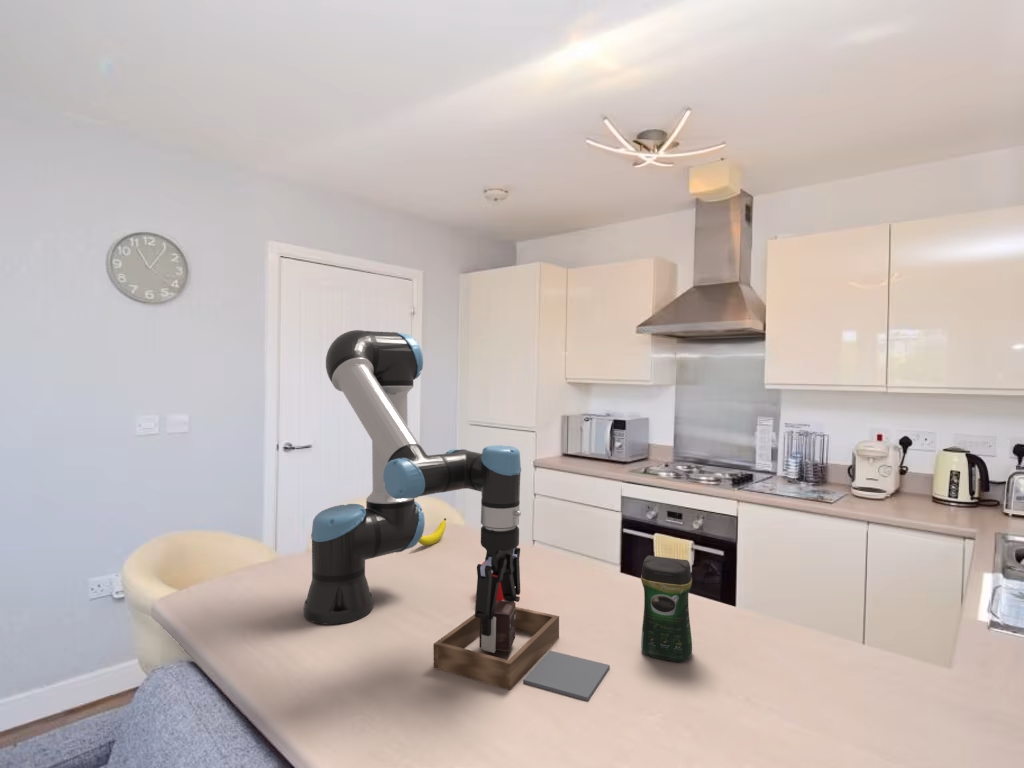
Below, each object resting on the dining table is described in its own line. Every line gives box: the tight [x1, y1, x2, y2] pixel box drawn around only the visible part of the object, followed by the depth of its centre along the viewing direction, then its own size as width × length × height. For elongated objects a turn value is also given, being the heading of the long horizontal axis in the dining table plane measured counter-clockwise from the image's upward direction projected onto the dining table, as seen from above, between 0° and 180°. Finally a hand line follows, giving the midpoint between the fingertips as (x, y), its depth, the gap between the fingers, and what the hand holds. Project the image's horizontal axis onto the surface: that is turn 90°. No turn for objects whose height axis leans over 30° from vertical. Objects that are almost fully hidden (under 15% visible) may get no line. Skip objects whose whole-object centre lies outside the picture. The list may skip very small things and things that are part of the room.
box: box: [478, 600, 517, 652], centre depth 111 cm, size 6×6×7 cm
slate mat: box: [522, 650, 611, 702], centre depth 102 cm, size 12×12×1 cm
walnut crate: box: [433, 606, 560, 691], centre depth 111 cm, size 16×22×4 cm
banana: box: [418, 518, 447, 546], centre depth 181 cm, size 3×19×6 cm, turn 158°
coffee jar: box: [640, 555, 693, 663], centre depth 111 cm, size 10×8×19 cm
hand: (498, 641), depth 111 cm, fingers closed on box, 7 cm apart
